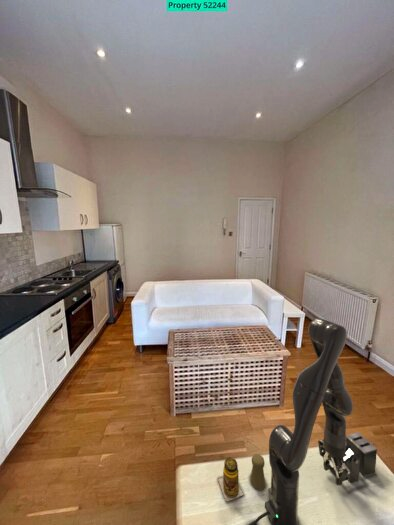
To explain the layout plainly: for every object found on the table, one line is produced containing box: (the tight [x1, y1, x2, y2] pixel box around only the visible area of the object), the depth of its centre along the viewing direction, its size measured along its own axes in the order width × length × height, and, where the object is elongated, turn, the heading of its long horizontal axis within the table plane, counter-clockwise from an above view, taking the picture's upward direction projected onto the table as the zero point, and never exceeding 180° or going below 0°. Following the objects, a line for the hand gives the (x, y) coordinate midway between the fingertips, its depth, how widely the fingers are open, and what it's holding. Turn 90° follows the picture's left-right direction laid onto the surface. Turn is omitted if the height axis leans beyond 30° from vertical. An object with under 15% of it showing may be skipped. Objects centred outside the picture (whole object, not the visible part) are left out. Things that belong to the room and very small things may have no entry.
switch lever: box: [326, 449, 354, 478], centre depth 90 cm, size 12×5×2 cm, turn 107°
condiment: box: [217, 456, 244, 502], centre depth 89 cm, size 7×8×12 cm
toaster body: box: [346, 431, 378, 477], centre depth 96 cm, size 7×8×12 cm
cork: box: [249, 453, 266, 490], centre depth 91 cm, size 6×6×11 cm
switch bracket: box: [344, 445, 360, 485], centre depth 91 cm, size 10×8×13 cm
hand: (332, 476), depth 89 cm, fingers closed on switch lever, 5 cm apart
